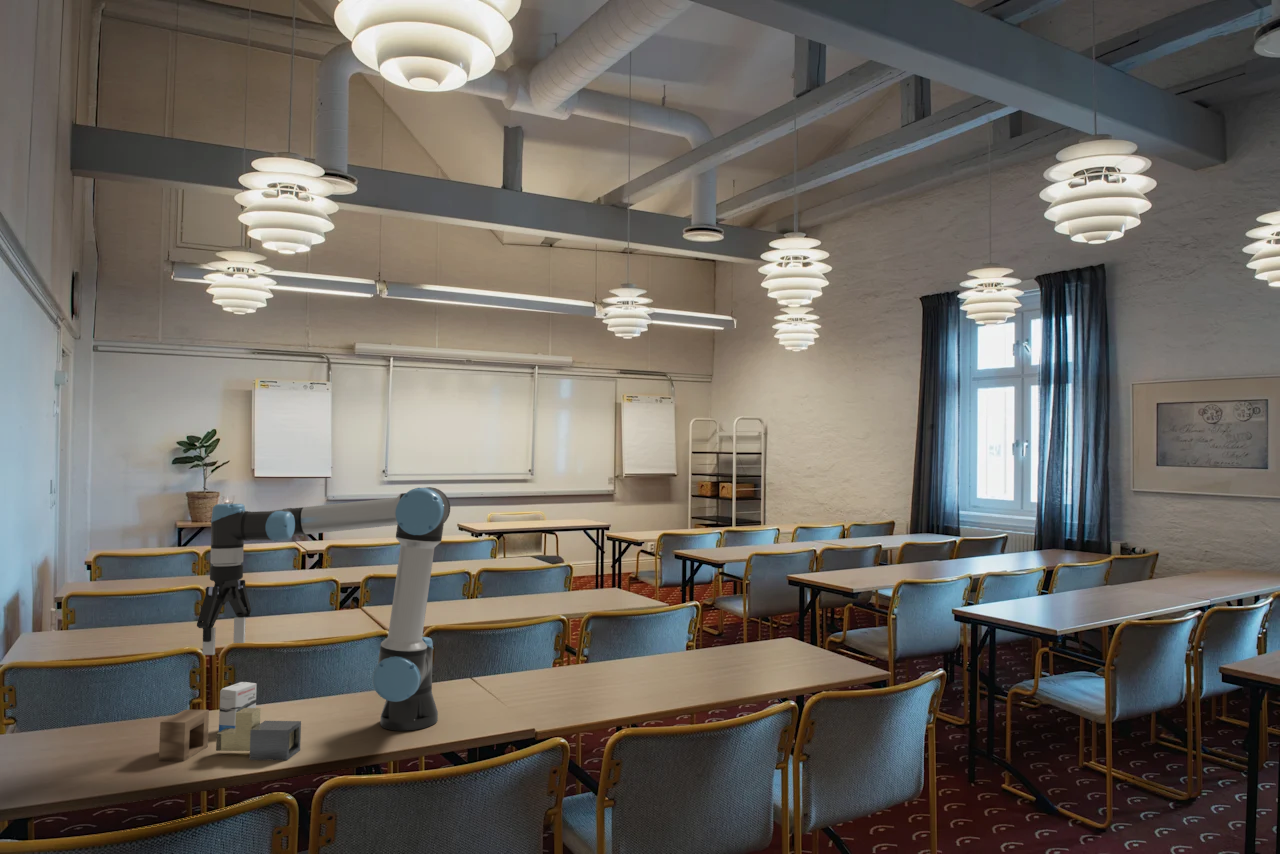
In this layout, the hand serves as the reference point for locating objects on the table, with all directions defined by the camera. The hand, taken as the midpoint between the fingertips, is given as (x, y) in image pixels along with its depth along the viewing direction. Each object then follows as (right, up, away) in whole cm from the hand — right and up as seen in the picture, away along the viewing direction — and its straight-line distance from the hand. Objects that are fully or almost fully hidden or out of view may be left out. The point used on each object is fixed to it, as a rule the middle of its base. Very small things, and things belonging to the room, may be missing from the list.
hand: (224, 648), depth 202 cm
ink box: (-1, -24, +8) cm, 26 cm away
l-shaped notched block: (+12, -22, -9) cm, 27 cm away
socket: (-5, -23, -9) cm, 25 cm away
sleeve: (+17, -23, -10) cm, 30 cm away
